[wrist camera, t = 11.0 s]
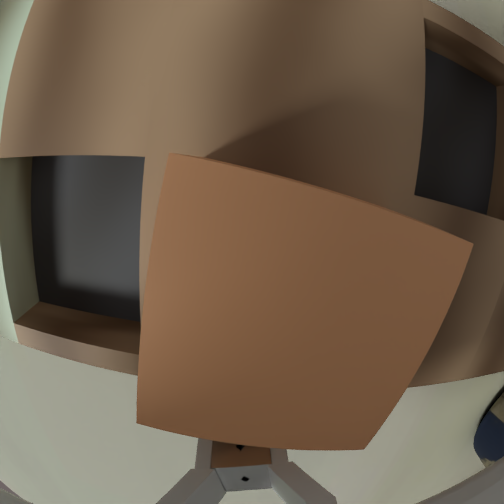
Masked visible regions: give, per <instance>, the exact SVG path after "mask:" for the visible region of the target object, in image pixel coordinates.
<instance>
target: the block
mask: <svg viewBox="0 0 504 504" xmlns="http://www.w3.org/2000/svg"><path fill="white" fill-rule="evenodd" d="M472 247H473V243H471V242H468V241H466V240H464V239H462V238H459V237H457V236H455V235H452V234H450V233H448V232H445V231H443V230H441V229H438V228H436V227H433V226H431V225H428V224H426V223H423V222H421V221H418V220H416V219H413V218H411V217H408V216H405V215H403V214H400V213H398V212H395V211H392V210H389V209H387V208H384V207H381V206H378V205H375V204H372V203H369V202H366V201H363V200H360V199H357V198H354V197H351V196H348V195H344V194H341V193H338V192H335V191H332V190H328V189H325V188H322V187H318V186H315V185H311V184H308V183H304V182H301V181H297V180H294V179H290V178H286V177H283V176H279V175H275V174H272V173H268V172H264V171H260V170H256V169H252V168H248V167H244V166H240V165H235V164H231V163H227V162H222V161H218V160H214V159H209V158H204V157H198V156H191V155H184V154H177V153H169V155H168V160H167V164H166V169H165V173H164V178H163V183H162V188H161V192H160V198H159V203H158V208H157V213H156V219H155V225H154V231H153V237H152V243H151V249H150V256H149V263H148V270H147V278H146V286H145V294H144V303H143V313H142V323H141V334H140V347H139V363H138V383H137V423H138V424H142V425H145V426H149V427H153V428H157V429H160V430H165V431H169V432H173V433H177V434H182V435H187V436H191V437H196V438H202V439H207V440H213V441H219V442H225V443H232V444H239V445H247V446H256V447H266V448H279V449H295V450H362V449H365V447H366V446H367V445H368V443H369V442H370V441H371V439H372V438H373V437H374V436H375V434H376V433H377V431H378V430H379V429H380V427H381V426H382V425H383V423H384V422H385V420H386V419H387V417H388V416H389V415H390V413H391V412H392V410H393V409H394V407H395V406H396V404H397V403H398V401H399V400H400V398H401V396H402V395H403V393H404V392H405V390H406V389H407V387H408V385H409V384H410V382H411V380H412V379H413V377H414V375H415V374H416V372H417V370H418V368H419V367H420V365H421V363H422V361H423V359H424V358H425V356H426V354H427V352H428V350H429V348H430V346H431V345H432V343H433V341H434V339H435V337H436V335H437V333H438V331H439V329H440V327H441V324H442V322H443V320H444V318H445V316H446V314H447V312H448V309H449V307H450V305H451V302H452V300H453V298H454V295H455V293H456V291H457V288H458V286H459V283H460V281H461V278H462V276H463V273H464V270H465V268H466V265H467V262H468V259H469V256H470V253H471V250H472Z"/></svg>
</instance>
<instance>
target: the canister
mask: <svg viewBox="0 0 504 504" xmlns="http://www.w3.org/2000/svg"><path fill="white" fill-rule="evenodd" d="M474 449H475V451H476V453H477V455H478V456H479V458H480V460H481V461H482V463H483V464H484V466H485V467H486V468H487V467H488V466H490V465H491V464H493V463H495V462H496V461H498V460H499V459H501V458H502V457H504V393H503V394H502V395H501V396H500V397H499V399H498V400H497V401H496V402H495V403H494V405H493V406H492V407H491V408H490V410H489V411H488V413H487V414H486V416H485V417H484V419H483V420H482V422H481V423H480V425H479V427H478V429H477V431H476V434H475V437H474Z"/></svg>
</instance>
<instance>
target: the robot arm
mask: <svg viewBox="0 0 504 504" xmlns="http://www.w3.org/2000/svg"><path fill="white" fill-rule="evenodd" d="M268 488H272V489H273V490H274V491H275V492H276V493H277V494H278V496H279V497H280V498H281V499H282V500H283V501H284V502H285V503H286V504H337V501H336V497H335V496H333V495H332V494H331V493H330V492H328V491H327V490H326V489H325V488H323V487H322V486H321V485H320V484H318V483H317V482H316V481H315V480H314V479H312V478H311V477H310V476H309V475H308V474H306V473H305V472H304V471H303V470H302V469H301V468H299V467H298V466H297V465H296V464H295V463H294V462H288V456H287V450H286V449H279V448H266V447H256V446H247V445H239V444H232V443H225V442H219V441H213V440H207V439H202V438H198V446H197V454H196V462H195V469H190V470H189V471H188V472H187V473H186V475H185V476H184V477H183V478H182V479H181V480H180V481H179V482H178V483H177V484H176V485H175V486H174V487H173V488H172V489H171V490H170V491H169V492H168V493H167V494H166V495H165V496H163V497H162V498H161V499H160V500H159V501H158V502H157V503H156V504H218V503H219V502H220V501H221V499H222V498H223V496H224V495H225V494H226V492H227V491H241V490H254V489H268ZM0 504H33V503H30V502H28V501H26V500H24V499H21V498H19V497H17V496H15V495H13V494H11V493H9V492H7V491H5V490H3V489H1V488H0ZM416 504H504V457H502V458H501V459H499V460H498V461H496V462H495V463H493V464H491V465H490V466H488V467H487V468H485V469H483V470H482V471H480V472H478V473H477V474H475V475H473V476H471V477H470V478H468V479H466V480H464V481H462V482H461V483H459V484H457V485H455V486H453V487H451V488H449V489H447V490H445V491H443V492H441V493H439V494H436V495H434V496H432V497H430V498H428V499H425V500H423V501H421V502H418V503H416Z"/></svg>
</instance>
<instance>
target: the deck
mask: <svg viewBox="0 0 504 504" xmlns="http://www.w3.org/2000/svg"><path fill="white" fill-rule="evenodd" d="M169 153H177V154H184V155H191V156H198V157H204V158H209V159H214V160H218V161H222V162H227V163H231V164H235V165H240V166H244V167H248V168H252V169H256V170H260V171H264V172H268V173H272V174H275V175H279V176H283V177H286V178H290V179H294V180H297V181H301V182H304V183H308V184H311V185H315V186H318V187H322V188H325V189H328V190H332V191H335V192H338V193H341V194H344V195H348V196H351V197H354V198H357V199H360V200H363V201H366V202H369V203H372V204H375V205H378V206H381V207H384V208H387V209H389V210H392V211H395V212H398V213H400V214H403V215H405V216H408V217H411V218H413V219H416V220H418V221H421V222H423V223H426V224H428V225H431V226H433V227H436V228H438V229H441V230H443V231H445V232H448V233H450V234H452V235H455V236H457V237H459V238H462V239H464V240H466V241H468V242H471V243H473V247H472V250H471V253H470V256H469V259H468V262H467V265H466V268H465V270H464V273H463V276H462V278H461V281H460V283H459V286H458V288H457V291H456V293H455V295H454V298H453V300H452V302H451V305H450V307H449V309H448V312H447V314H446V316H445V318H444V320H443V322H442V324H441V327H440V329H439V331H438V333H437V335H436V337H435V339H434V341H433V343H432V345H431V346H430V348H429V350H428V352H427V354H426V356H425V358H424V359H423V361H422V363H421V365H420V367H419V368H418V370H417V372H416V374H415V375H414V377H413V379H412V380H411V382H410V384H409V385H408V387H417V386H425V385H432V384H439V383H446V382H452V381H458V380H464V379H469V378H474V377H479V376H484V375H488V374H493V373H497V372H501V371H504V46H502V45H501V44H500V43H498V42H497V41H495V40H494V39H493V38H491V37H490V36H488V35H487V34H485V33H484V32H482V31H481V30H479V29H478V28H476V27H475V26H473V25H472V24H470V23H468V22H467V21H465V20H463V19H462V18H460V17H458V16H457V15H455V14H453V13H451V12H450V11H448V10H446V9H444V8H442V7H440V6H438V5H436V4H434V3H433V2H431V1H429V0H0V336H1V337H3V338H6V339H8V340H11V341H14V342H17V343H19V344H22V345H25V346H28V347H31V348H34V349H37V350H40V351H43V352H46V353H49V354H53V355H56V356H59V357H63V358H66V359H70V360H73V361H77V362H81V363H84V364H88V365H92V366H96V367H100V368H105V369H109V370H113V371H118V372H123V373H127V374H132V375H137V376H138V363H139V347H140V334H141V323H142V313H143V303H144V294H145V286H146V278H147V270H148V263H149V256H150V249H151V243H152V237H153V231H154V225H155V219H156V213H157V208H158V203H159V198H160V192H161V188H162V183H163V178H164V173H165V169H166V164H167V160H168V155H169ZM408 387H407V388H408Z"/></svg>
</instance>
